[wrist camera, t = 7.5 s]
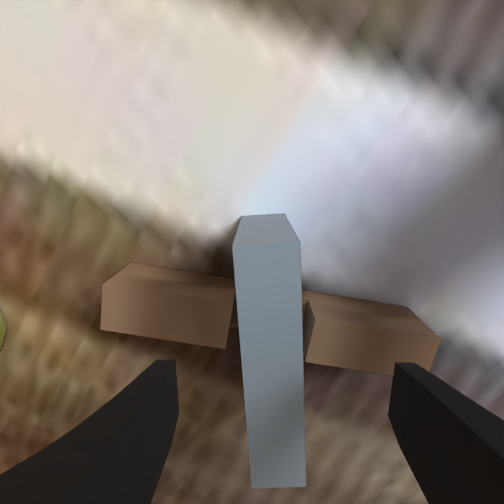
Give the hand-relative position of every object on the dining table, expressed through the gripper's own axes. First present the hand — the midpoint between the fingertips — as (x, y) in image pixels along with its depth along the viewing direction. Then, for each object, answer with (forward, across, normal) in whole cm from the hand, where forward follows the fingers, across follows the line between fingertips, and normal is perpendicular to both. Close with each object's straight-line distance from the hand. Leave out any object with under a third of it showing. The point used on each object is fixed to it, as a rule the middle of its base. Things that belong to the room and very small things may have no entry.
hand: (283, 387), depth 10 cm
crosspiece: (+10, 0, +2) cm, 10 cm away
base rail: (+10, 0, +2) cm, 10 cm away
